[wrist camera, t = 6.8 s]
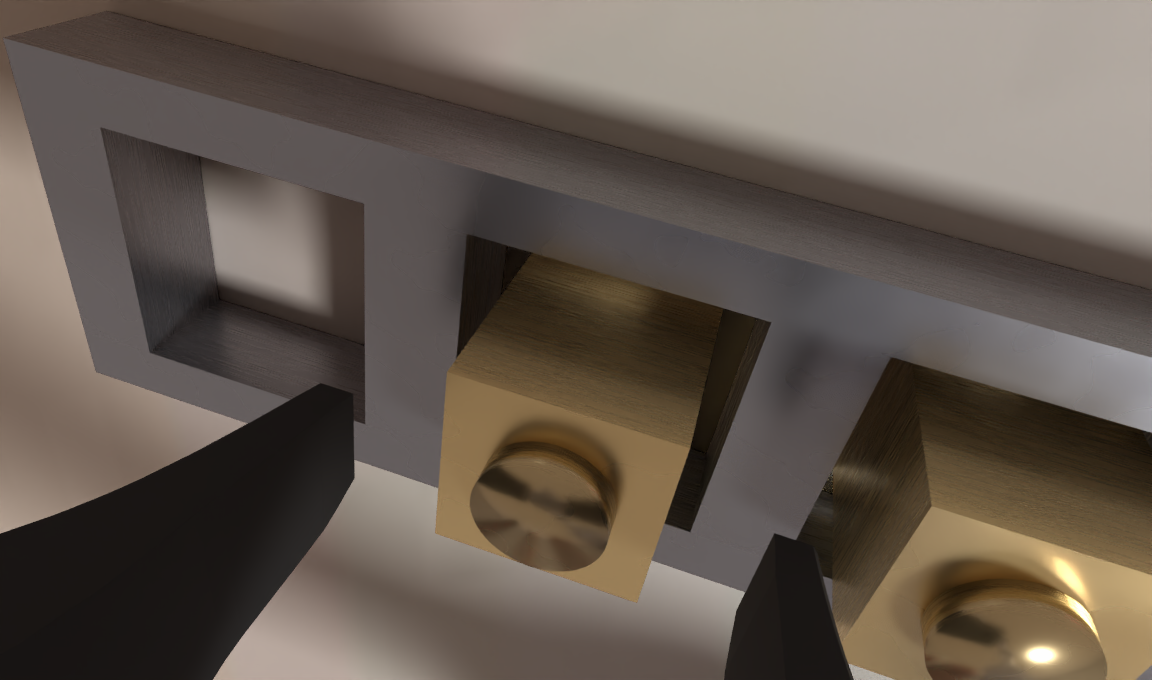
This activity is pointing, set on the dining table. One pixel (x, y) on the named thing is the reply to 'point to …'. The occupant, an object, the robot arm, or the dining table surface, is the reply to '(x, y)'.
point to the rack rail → (542, 226)
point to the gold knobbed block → (990, 536)
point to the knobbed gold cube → (573, 422)
